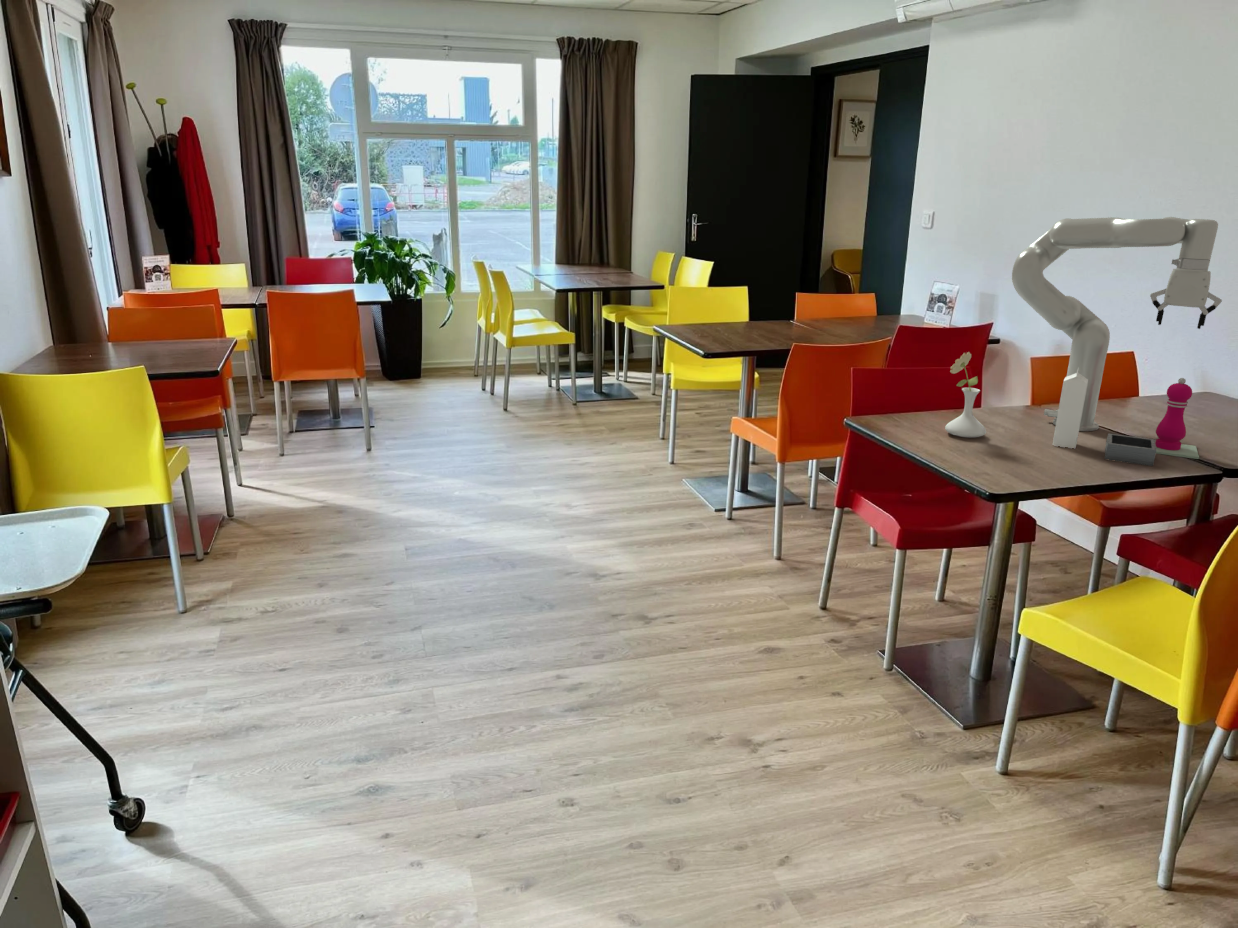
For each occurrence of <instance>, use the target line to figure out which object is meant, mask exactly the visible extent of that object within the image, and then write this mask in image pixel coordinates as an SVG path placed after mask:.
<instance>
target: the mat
mask: <svg viewBox="0 0 1238 928" xmlns="http://www.w3.org/2000/svg"><path fill="white" fill-rule="evenodd" d="M1155 442H1156V440H1155ZM1156 454H1158V455H1165V456H1171V457H1173V456H1174V457H1180V458H1189V459H1193V460H1194V459H1195V460H1199V459H1200V455H1199V452H1198V449H1197V445H1190V444H1184V443H1183V444H1181V449H1180V450H1165V449H1161V448H1158V447H1156ZM1156 454H1155V455H1156Z"/></svg>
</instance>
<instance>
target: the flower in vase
mask: <svg viewBox="0 0 1238 928" xmlns="http://www.w3.org/2000/svg"><path fill="white" fill-rule="evenodd" d="M971 358H972V353H971V352H970V351H968V352H967V351H966V352H963V354H962V355H960V357H959V358H957V359H955V361H954V362H955V363H953V364H952V366H950V371H949V372H950V373H951V374H953V375H954V374H957V373H960V371H962V370H963V369H964V371H965V375H966V379H962V380H960V381H958V383H957V384H956V387H961V391H962V392H963V394H964V395H963V396H964V408H963V412H962V413H961V415H959V416H958V417H956V418H954V419H952V420H950V421H949V422H948V423H947V424H946V425H945V426H944V428H945V431H946V432H947V433H949V434H951V435H953V436H955V437H962V438H980V437H983V436H984V435H986V433H987V430H986V427H985V425H983V424H982V423H981V422H980V421H979V420H978V419H977V418H976V417H975V416H974V413H973V409H974V403H975V400H976V398H977V395H978V394H979V393H980V392H981V390H980V389H978V388H975V387H973V386H975V385H977V384H978V382H979V379H978V375H977V376H974V377H972V378H970V379H969V377H968V371H967V369H966V366H967V365H968V364H969V361H971ZM966 384H967V385H968V387H963V386H964V385H966Z"/></svg>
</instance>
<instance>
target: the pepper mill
mask: <svg viewBox="0 0 1238 928" xmlns="http://www.w3.org/2000/svg"><path fill="white" fill-rule="evenodd" d="M1166 395H1167V397H1168V399H1167V400H1166V401H1167V402H1166V405H1167V409H1166V413H1165V414H1164V417H1163V418H1162V419H1161V420H1160V422H1159V423H1158V425H1157V426H1156V429H1155V434H1156V436H1157V437H1158V438H1156V439H1155V441H1156V442H1155V444H1156V447H1158V448H1161V449H1165V450H1180V449H1181V444H1182V442H1181V441H1182V440H1184V439H1185V437H1186V436H1187V435H1186V434H1187V428H1186V425H1185V421H1184V413H1185V409H1186V408H1187V407H1188V404H1189V402H1188V401H1189V400H1190V399H1191V398H1192V396H1193V389H1192V387H1191V386H1190V385H1188V384H1186V378H1184V377H1180V378H1178V380H1177V382H1175V383H1173V384H1171V385H1169V386H1168V388H1167V390H1166Z"/></svg>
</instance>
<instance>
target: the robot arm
mask: <svg viewBox="0 0 1238 928" xmlns="http://www.w3.org/2000/svg"><path fill="white" fill-rule="evenodd" d="M1218 229H1219V223H1218V221H1217V220H1214V219H1205V218H1193V219H1187V218H1181V217H1176V216H1175V217H1174V216H1167V217H1163V218H1144V219H1142V218H1141V219H1139V218H1138V219H1135V218H1134V219H1133V218H1131V219H1130V218H1122V217H1111V216H1110V217H1094V218H1093V217H1091V218H1062V219H1060V220H1058V221H1057V222H1055V223H1054V224H1053V225H1052V226H1051V227H1050V228H1049V229H1048V230H1046V232H1045V233H1044V234H1043V235H1041V236H1040V237H1039V238H1038V239H1036V240H1035V241H1034V242H1033V243H1031V244H1030V245H1029V246H1028V247H1027V248H1025V249H1023V250H1022V251H1020V253H1019V254H1018V255H1017V256H1016V259H1015V261H1014V263H1013V266H1012V271H1011V281H1012V286H1013V287H1014V290H1015V292H1016V293H1017V294H1018V296H1020V298H1021V299H1022V300H1023V301H1024V302H1026V304H1027V305H1029V307H1031V308H1032V309H1033V310H1034V312H1036V313H1037V314H1038V315H1039V316H1041V317H1042V318H1043V319H1044V320H1045V322H1047V324H1048V325H1050V326H1051V327H1052V328H1054V329H1055V330H1057V331H1058V330H1059V331H1062V332H1063V333H1065V335H1066V336H1068V337H1069V338H1070V339H1072V342H1071V347H1070V353H1069V359H1068V367H1067V373H1066V377H1067V376H1070V375H1072V374H1075V373H1077V370H1078V373H1079V374H1081V375H1082V376H1084V377H1085V378H1086V379H1088V385H1087V390H1086V395H1085V401H1084V406H1083V412H1082V417H1081V423H1080V428H1079V432H1093V431H1097V430H1098V429H1099V428H1100V424H1098V422H1096V421H1095V418H1096V411H1097V407H1098V403H1099V396H1100V389H1101V385H1102V381H1103V374H1104V370H1105V364H1106V360H1107V356H1108V355H1107V354H1108V350H1109V346H1110V339H1111V337H1110V336H1111V335H1110V329H1109V327H1108V325H1107V324H1106V323H1105V322H1104V321H1103V320H1102V319H1101V318H1099V317H1098V316H1097V315H1096V314H1095V313H1094V312H1093V311H1091V309H1089V308H1088V307H1087V306H1086V305H1085V304H1084V303H1082V301H1080V300H1079V299H1077V297H1076V298H1075V297H1074V296H1071V295H1065V294H1064V293H1063V292H1062V291H1060V289H1058V288H1057V287H1056V286H1055V285H1054V284H1052V283H1051V282H1050V281H1049V280H1047V278H1046V277H1045V275H1044V273H1043V272H1044V271H1045V270H1046V269H1047V268H1048V267H1049V266H1050V265H1051V264H1052V263H1054V262H1055V261H1056V260H1058V259H1059V258H1060V257H1061V256H1062V255H1064V254H1065V253H1066V252H1067V251H1069V250H1075V249H1121V248H1143V247H1144V248H1146V247H1147V248H1149V247H1154V248H1155V247H1159V248H1160V247H1173V246H1174V245H1176V244H1181V246H1180V247H1181V248H1180V251H1179V256H1178V258H1176V259H1174V258H1173V259H1172V260H1171V265H1174V266H1176V267H1175V268H1173V269H1172V270H1171V274H1170V276H1169V279H1168V282H1167V285H1166V288H1163V289H1161V290H1158V291H1155V292H1151V294H1150V295H1149V296H1150V299H1151V303H1152V305H1153V306H1154V307H1155V308H1156V310H1157V315H1156V320H1155V321H1156V322H1157V325H1158V326H1161V325H1162V322H1163V317H1164V312H1165V310H1164V309H1165V308H1167V306H1175V307H1186V308H1197V309H1198V308H1199V309H1200V312H1201V313H1200V315H1199V318H1198V323H1197V327H1196V329H1198V330H1200V329H1201V327H1204V326H1205V322H1206V317H1207V315H1208V314H1210V313H1212V312H1213V311H1215V310H1216V308H1218V306H1219V305H1220V304H1221V303H1222V301H1223V300H1222V299H1221V298H1220V297H1218V296H1216V295H1214V294H1213V293H1212V292H1210V285H1211V277H1212V276H1211V274H1212V273H1211V271H1210V270H1209V266H1210V262H1211V258H1212V253H1213V249H1214V247H1215V240H1216V237H1217V233H1218ZM1163 295H1164V296H1163ZM1159 296H1163V302H1162V303H1160V301H1158V299H1157V298H1158V297H1159ZM1208 299H1210V300H1212V301H1213V304H1211V305H1210V306H1209V307H1206V306H1205V305H1206V304H1207V301H1208ZM1078 368H1079V369H1078ZM1058 410H1059V409H1056V410H1054V409H1053V410H1052V409H1048V408H1045V409H1044V412H1043V416H1047V417H1049V418H1053V420H1052V423H1053V425H1055V426H1056V421H1057V416H1058Z"/></svg>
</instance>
